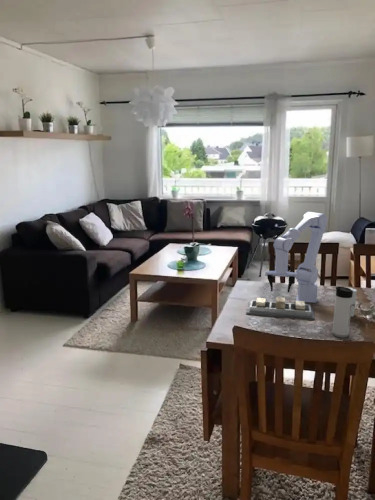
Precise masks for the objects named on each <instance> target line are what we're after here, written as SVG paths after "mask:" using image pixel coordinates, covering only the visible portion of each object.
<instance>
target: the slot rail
mask: <svg viewBox="0 0 375 500" xmlns="http://www.w3.org/2000/svg"><path fill="white" fill-rule="evenodd" d="M246 307H247V308H246V312H245V314H246V315H253V316H263V317H273V318H274V317H275V318H286V319H299V320H310V321H315V320H316V317H315V312H314V308H313V307H311V304H309V303H308V304H307V303H306V302H304V301H297V300H295V301H294V303H293V302H285V309H276V301H268V300H267V299H266V298H263V297H256V299H251V300H250V302H248V303H247V306H246Z"/></svg>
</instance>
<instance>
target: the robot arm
mask: <svg viewBox="0 0 375 500" xmlns="http://www.w3.org/2000/svg"><path fill="white" fill-rule="evenodd" d="M328 221H329V219H328V216H327V214H326V213H325V212H323V213H320V212H314V211H306V212H305V213H304V214H303V217H302V220H301V221H299V223H298V224H297V225H296V226H295V227H291V228H288V230H287V231H286V232H285V233H284V234H283V235H282V236H281V237H277V238H275V239H274V242H273V245H272V246H273V249H274V253H275V260H274V261H275V262H274V264H275V265H274V270H265V274H264V276H265V277H267V281H268V283H269V286H270V292H273V289H274V287H273V282H274V281H273V280H274V279H273V278H274V277H284V278H288V285H287V293H290V291H291V288H292V285H293V283H294V281H295V279H296V282H297V295H295V299H296V300H295V301H304V302H305V303H315V304H316V303H317V299H318V283H316V282H317V281H318V278H319V277H318V274H319V269H318V268H317V266H316V260H317V257H318V254H319V250H320V247H321V242H322V239H323V236H324V232H325V231H326V228H327V224H328ZM308 228H309V230H311V236H310V238H309V239H310V240H309V242H308V246H307V249H306V254H305V257H304V259H303V260H304V261H303V262H301V263H300V264H299V265H298V267H297V269H296V270H295V272H293V271H289V268H288V267H289V251H290V250H291V249H292V246H293V245H294V243H295V242H296V241H297V240H298V239H299V238H300V237H301V233H302V232H304V231H305V230H307V229H308Z"/></svg>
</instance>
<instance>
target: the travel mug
mask: <svg viewBox="0 0 375 500" xmlns="http://www.w3.org/2000/svg"><path fill="white" fill-rule="evenodd" d="M349 288H350V287H346V286H335V300H334V308H333V309H334V312H333V322H332V332H331V333H332V335H333V336H335V337H337V338H342V339H343V338H344V339H345V338H348V337H349V335H350V324H351V317H352V316H351V307H352V297H353V296H352V294H353V290H350V289H349Z"/></svg>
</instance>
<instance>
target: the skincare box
mask: <svg viewBox="0 0 375 500" xmlns="http://www.w3.org/2000/svg"><path fill="white" fill-rule="evenodd" d="M348 288H349V289H350V290H353V294H352V296H353V297H352V307H351V317H354V316H355V311H356V310H355V309H356V304H357V303H356V302H357V295H358V294H357V293H358V292H357V288H352V287H348Z"/></svg>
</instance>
